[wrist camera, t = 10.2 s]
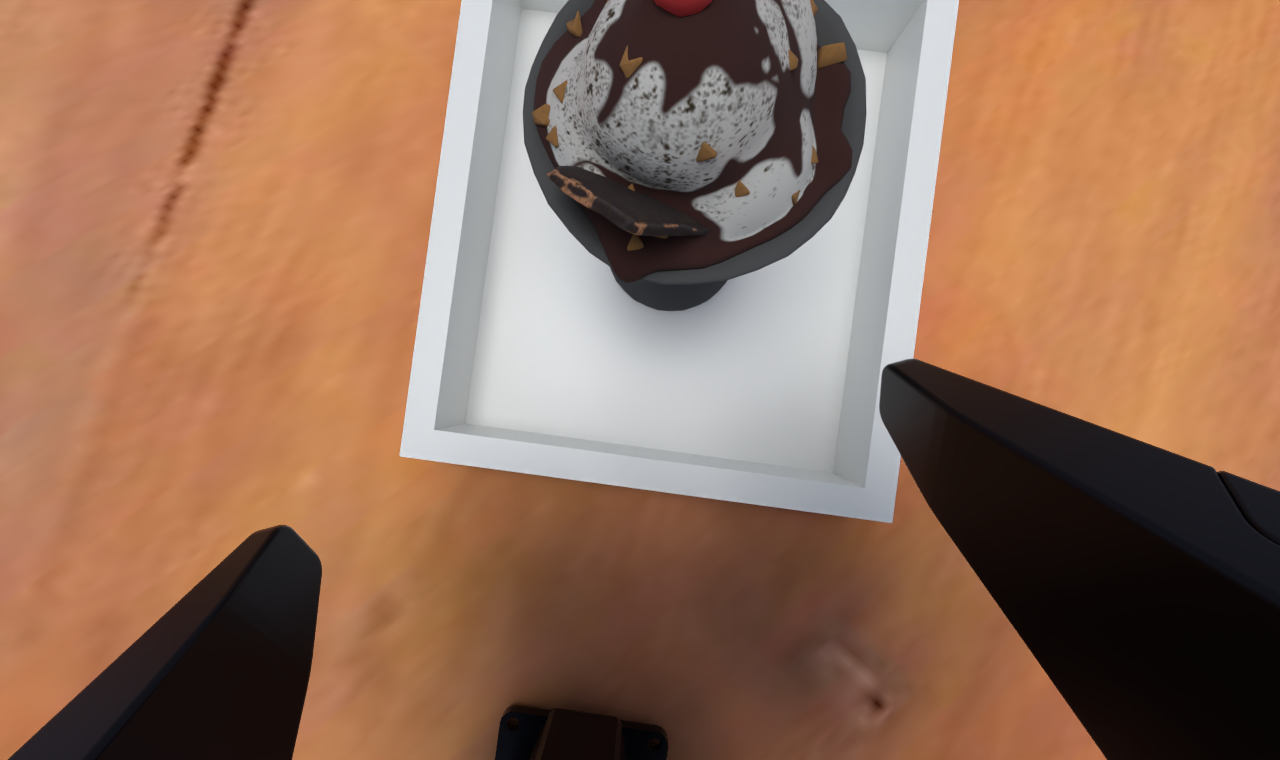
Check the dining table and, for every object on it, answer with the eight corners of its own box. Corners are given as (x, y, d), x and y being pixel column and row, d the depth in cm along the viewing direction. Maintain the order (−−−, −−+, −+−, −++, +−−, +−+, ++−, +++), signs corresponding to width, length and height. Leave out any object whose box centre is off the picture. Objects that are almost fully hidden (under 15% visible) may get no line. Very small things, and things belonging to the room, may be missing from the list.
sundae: (719, 130, 21) (911, -559, 6) (785, 295, 20) (1162, 45, 5) (557, 195, 21) (316, -315, 6) (622, 359, 20) (551, 288, 6)
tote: (846, 497, 21) (892, 523, 17) (445, 443, 22) (399, 456, 18) (904, 46, 21) (962, -32, 17) (506, -2, 22) (474, -90, 18)
